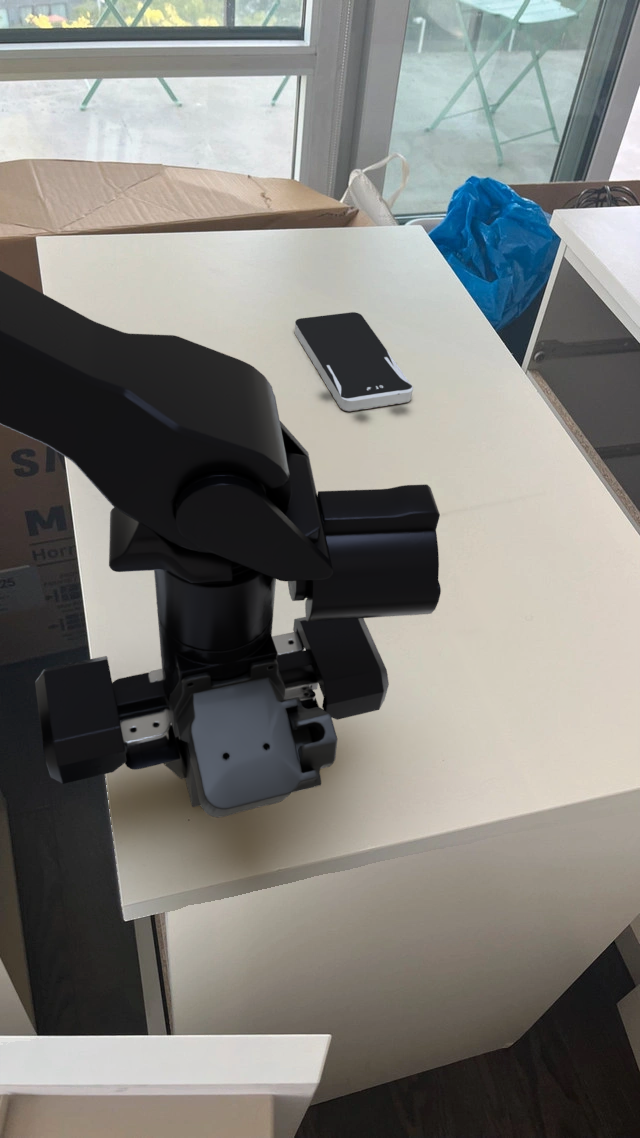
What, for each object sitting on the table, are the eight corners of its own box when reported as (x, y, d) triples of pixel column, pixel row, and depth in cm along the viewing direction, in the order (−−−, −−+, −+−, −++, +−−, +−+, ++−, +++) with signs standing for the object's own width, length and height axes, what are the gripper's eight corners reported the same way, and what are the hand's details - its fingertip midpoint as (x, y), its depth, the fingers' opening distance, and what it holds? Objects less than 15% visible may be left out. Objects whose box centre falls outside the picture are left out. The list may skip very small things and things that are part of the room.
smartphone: (359, 311, 93) (416, 391, 83) (357, 322, 94) (413, 402, 84) (293, 319, 90) (344, 402, 81) (292, 330, 91) (342, 413, 82)
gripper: (36, 796, 34) (81, 933, 46) (453, 698, 39) (399, 843, 51) (12, 593, 41) (57, 756, 53) (370, 531, 46) (339, 692, 58)
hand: (215, 763), depth 53 cm, fingers closed on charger, 4 cm apart
